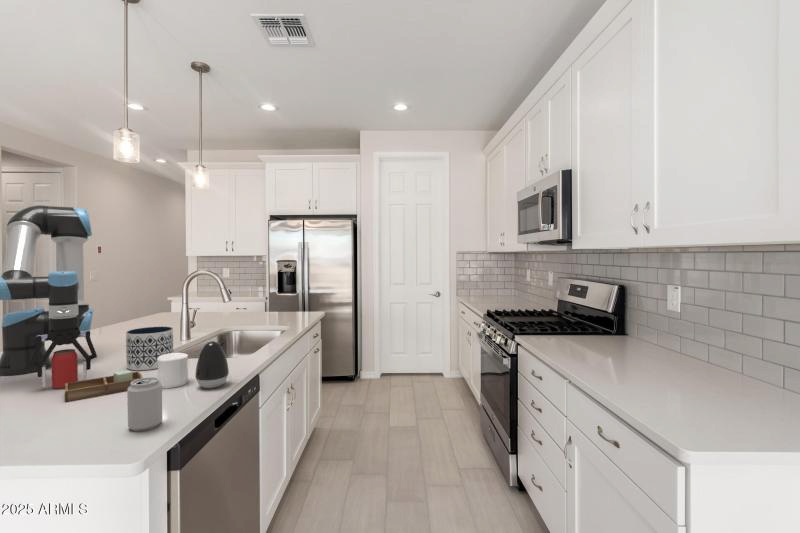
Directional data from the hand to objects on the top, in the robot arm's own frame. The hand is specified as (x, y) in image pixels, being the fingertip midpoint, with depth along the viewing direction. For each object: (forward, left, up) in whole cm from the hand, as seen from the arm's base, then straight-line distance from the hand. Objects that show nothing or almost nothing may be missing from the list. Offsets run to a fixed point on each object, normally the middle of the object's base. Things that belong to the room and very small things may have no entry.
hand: (65, 382), depth 130 cm
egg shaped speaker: (+32, +38, -1) cm, 50 cm away
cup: (+21, +28, -1) cm, 35 cm away
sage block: (+14, +15, 0) cm, 20 cm away
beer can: (0, 0, -1) cm, 1 cm away
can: (+54, +16, -1) cm, 56 cm away
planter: (-11, +26, -1) cm, 28 cm away
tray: (+14, +10, -1) cm, 17 cm away
